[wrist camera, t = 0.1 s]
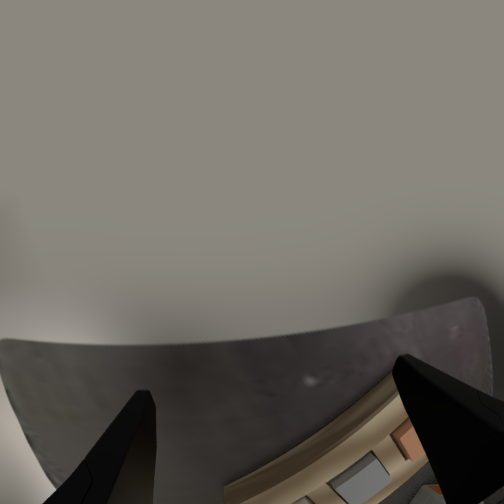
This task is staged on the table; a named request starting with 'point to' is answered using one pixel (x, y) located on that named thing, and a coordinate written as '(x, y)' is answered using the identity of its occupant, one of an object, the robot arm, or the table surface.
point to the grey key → (361, 480)
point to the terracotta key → (407, 440)
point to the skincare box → (428, 495)
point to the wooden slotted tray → (334, 455)
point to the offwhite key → (303, 501)
